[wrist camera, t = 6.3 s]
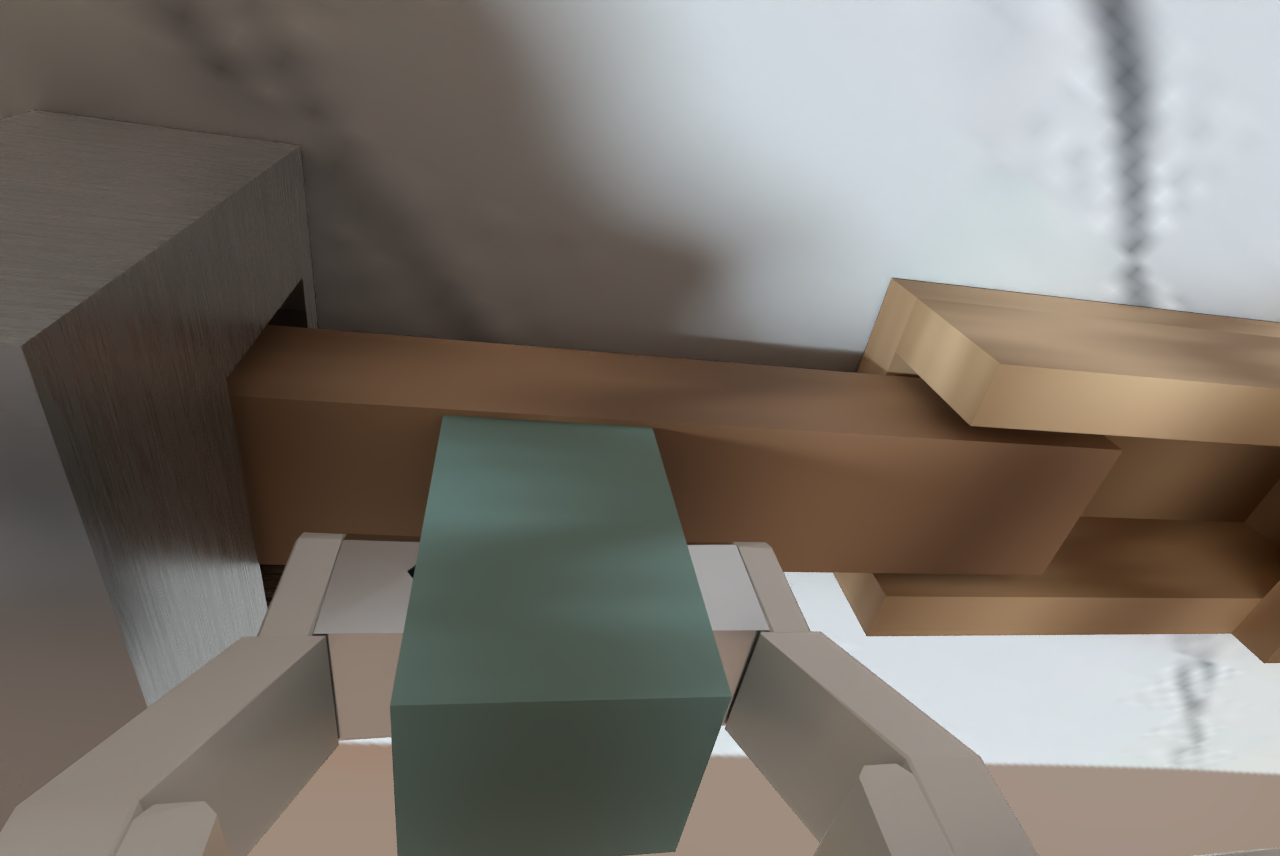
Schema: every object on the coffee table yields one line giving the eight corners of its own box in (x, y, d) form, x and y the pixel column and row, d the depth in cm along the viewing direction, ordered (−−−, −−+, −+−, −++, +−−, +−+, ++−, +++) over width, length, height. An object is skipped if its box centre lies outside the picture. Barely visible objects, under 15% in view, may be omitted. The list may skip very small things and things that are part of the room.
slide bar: (1041, 387, 14) (1411, 672, 8) (979, 504, 15) (1250, 811, 10) (142, 314, 10) (-323, 715, 5) (180, 473, 12) (-132, 919, 6)
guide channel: (1358, 331, 16) (1614, 437, 12) (1203, 529, 19) (1369, 661, 15) (891, 278, 13) (1034, 390, 9) (802, 516, 16) (885, 670, 13)
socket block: (300, 145, 10) (22, 345, 5) (338, 538, 15) (216, 903, 9) (36, 110, 10) (-695, 294, 4) (155, 533, 14) (-111, 930, 8)
